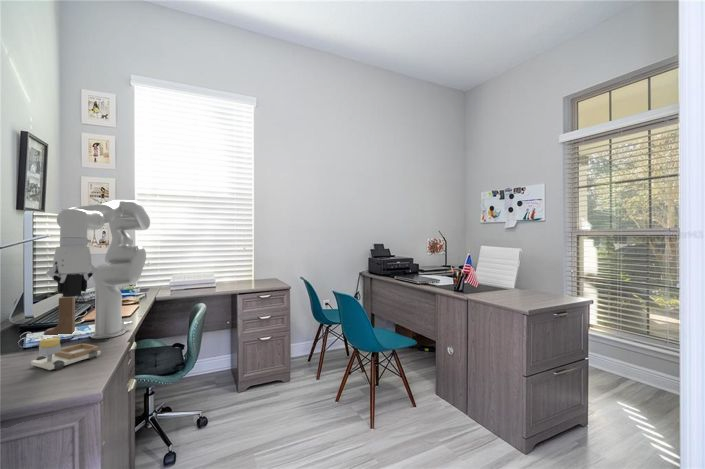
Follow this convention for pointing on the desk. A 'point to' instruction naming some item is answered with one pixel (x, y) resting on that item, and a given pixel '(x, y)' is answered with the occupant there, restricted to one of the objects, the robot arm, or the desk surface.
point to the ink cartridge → (73, 285)
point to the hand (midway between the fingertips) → (72, 291)
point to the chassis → (67, 356)
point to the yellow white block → (49, 346)
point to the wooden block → (64, 317)
